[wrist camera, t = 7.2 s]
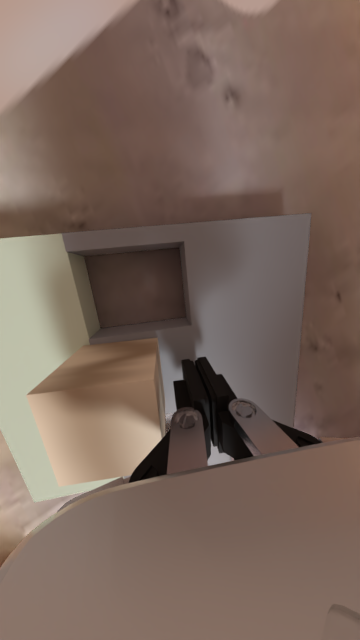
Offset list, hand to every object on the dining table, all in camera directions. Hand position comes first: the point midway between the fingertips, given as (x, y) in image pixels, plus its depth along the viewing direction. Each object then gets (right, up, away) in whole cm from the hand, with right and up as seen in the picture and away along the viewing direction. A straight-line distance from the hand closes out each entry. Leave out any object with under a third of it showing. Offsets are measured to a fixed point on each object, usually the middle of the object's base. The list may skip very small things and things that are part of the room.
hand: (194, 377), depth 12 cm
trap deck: (-3, 0, +4) cm, 5 cm away
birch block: (-5, 0, +1) cm, 5 cm away
